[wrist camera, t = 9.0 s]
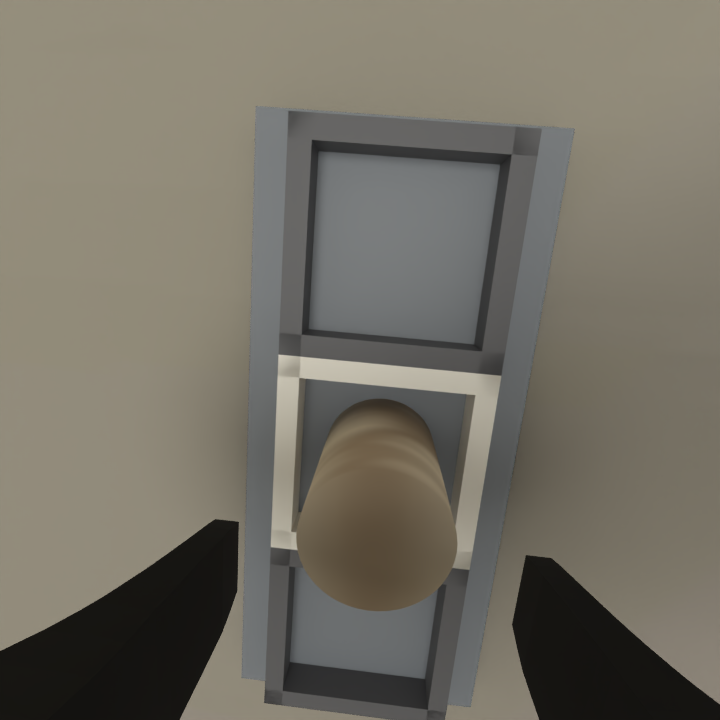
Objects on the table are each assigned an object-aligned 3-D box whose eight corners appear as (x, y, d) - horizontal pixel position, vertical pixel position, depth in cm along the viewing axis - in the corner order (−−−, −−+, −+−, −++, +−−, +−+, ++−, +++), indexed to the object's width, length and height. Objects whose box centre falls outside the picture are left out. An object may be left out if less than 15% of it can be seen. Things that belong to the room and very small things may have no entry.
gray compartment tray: (560, 138, 16) (594, 114, 13) (465, 682, 21) (476, 739, 19) (265, 117, 16) (242, 90, 13) (249, 655, 22) (231, 707, 19)
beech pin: (440, 404, 17) (468, 479, 11) (426, 503, 18) (445, 620, 12) (330, 392, 17) (300, 460, 11) (322, 491, 18) (291, 600, 12)
